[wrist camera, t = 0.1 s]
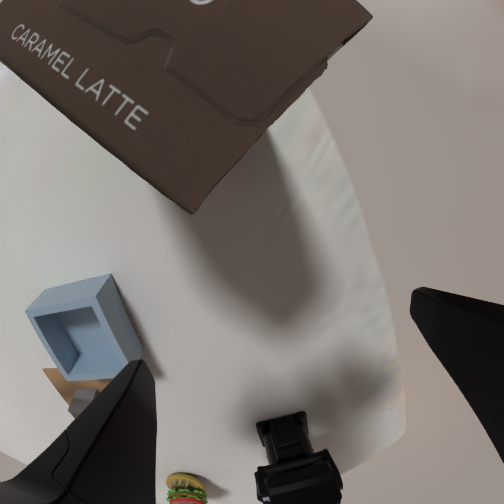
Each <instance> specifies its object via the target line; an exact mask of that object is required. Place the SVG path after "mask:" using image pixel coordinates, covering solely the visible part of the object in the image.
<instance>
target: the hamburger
mask: <svg viewBox="0 0 504 504" xmlns="http://www.w3.org/2000/svg"><path fill="white" fill-rule="evenodd" d="M166 484H167V486H168V488H169V489H170V491H168V493H167V495H169V496H168V498H166V499H167V501H169V502H170V504H206V503H208V502H207V499H206V497H207V495H206V494H205V487H204V485H203V483H202V482H201V481H200V480H198V479H197V478H195V477H193V476H191V475H188V474H184V473H175V474H172V475H170V476H169V477H168V478H167V480H166Z"/></svg>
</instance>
